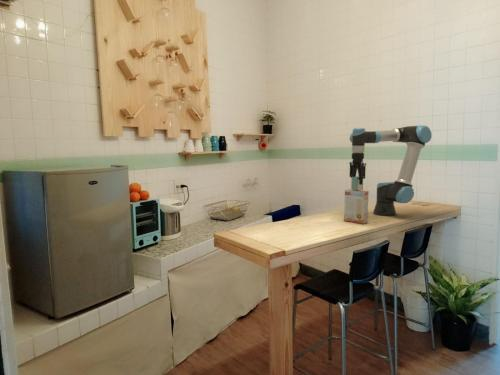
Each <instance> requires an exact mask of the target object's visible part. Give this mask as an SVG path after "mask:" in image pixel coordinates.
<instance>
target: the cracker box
mask: <svg viewBox="0 0 500 375" xmlns="http://www.w3.org/2000/svg"><path fill="white" fill-rule="evenodd" d="M369 193H370V192H369V190H353V189H351V188H350V189H349V188H348V189H345V190H344V212H343V219H344V220H343V221H344V222H348V223H353V224H354V223H355V224H360V225H364V224H368V221H369V220H368V218H369V216H368V215H369Z"/></svg>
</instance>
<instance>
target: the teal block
mask: <svg viewBox="0 0 500 375" xmlns="http://www.w3.org/2000/svg"><path fill="white" fill-rule="evenodd" d="M358 179H359V176H356V177H352V178H351V188H350V189H351V190H358ZM363 187H364V182H363V183H362V191H364V188H363Z"/></svg>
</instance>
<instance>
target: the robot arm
mask: <svg viewBox="0 0 500 375" xmlns="http://www.w3.org/2000/svg"><path fill="white" fill-rule="evenodd" d="M432 136H433V134H432V131H431V128H430V127H429V126H427V125H421V124H419V125H409V126H408V125H407V126H404V127H403V126H402V127H398V128H397V127H396V128H393V129H390V130H377V131H376V130H375V131H371V130H370V131H366V128H364V127H356V128H355V127H354V128H353V129H352V133H350V135H349V141H350V143H351V152H352V153H351V159H352V161H350V162H349V178H350V179H352V177H359V179H358V190H362V183H363V184H364V180H365V179H366V170H367V168H366V166H367V163H366V162H364V159H365V153H364V152H365V146H366V144H378V143H381V142H382V143H383V142H384V143H385V142H393V143H405V144H406V146H407V147H406V151H405V153H404V157H403V160H402V164H401V167H400V170H399V172H398V173H399V174H398V177H397V179H396V180H394V182H393V181H389V182H378V183H377V185H376V201H375V202H376V203H375V206H374V209H373V212H372V213H373V214H374V215H377V216H387V217H392V216H396V215H397V211H396V208H395V203H399V204H408V203H409V202H411V201H412V200H413V198H414V195H415V192H414V188H413V187H414V185H413V184H412V180H413V176H414V173H415V170H416V167H417V164H418V162H419V161H418V160H419V157H420V153H421V150H422V149H424V148H425V146H426V144H427V143H429V142H430V141H431V140H432ZM357 173H358V174H357ZM357 175H358V176H357ZM362 191H363V190H362Z"/></svg>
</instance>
